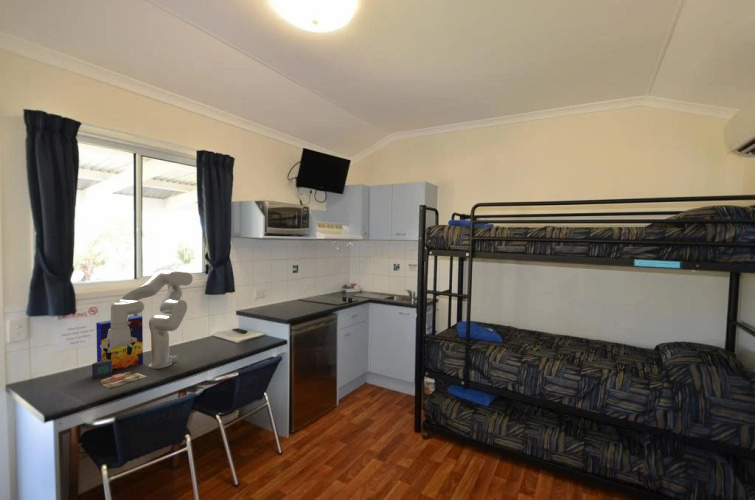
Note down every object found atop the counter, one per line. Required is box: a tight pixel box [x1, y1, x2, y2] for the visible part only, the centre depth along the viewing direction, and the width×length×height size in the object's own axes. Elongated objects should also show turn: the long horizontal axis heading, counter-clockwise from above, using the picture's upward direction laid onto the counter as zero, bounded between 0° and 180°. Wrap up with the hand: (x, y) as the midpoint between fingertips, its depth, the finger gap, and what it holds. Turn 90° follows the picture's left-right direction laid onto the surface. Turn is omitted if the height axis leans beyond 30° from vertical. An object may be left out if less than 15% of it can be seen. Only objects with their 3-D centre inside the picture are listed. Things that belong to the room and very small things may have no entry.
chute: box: [100, 371, 147, 389], centre depth 194 cm, size 18×10×3 cm, turn 151°
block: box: [111, 373, 125, 383], centre depth 191 cm, size 4×5×4 cm
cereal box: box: [95, 315, 144, 372], centre depth 213 cm, size 22×6×30 cm, turn 149°
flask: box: [91, 358, 113, 379], centre depth 200 cm, size 9×3×11 cm, turn 144°
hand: (119, 356), depth 191 cm, fingers open, 9 cm apart
